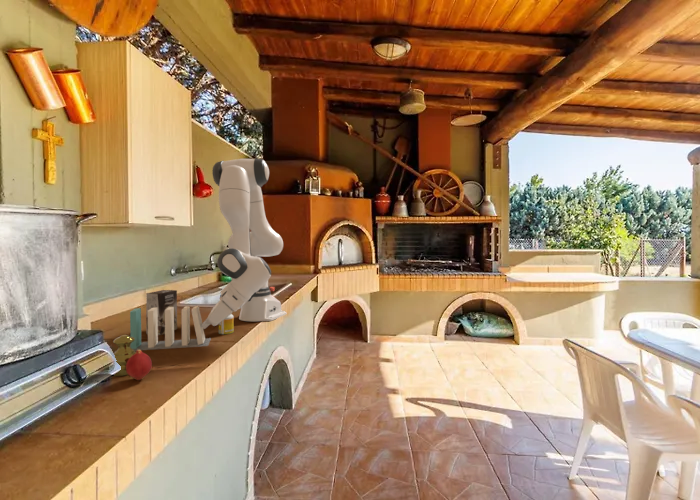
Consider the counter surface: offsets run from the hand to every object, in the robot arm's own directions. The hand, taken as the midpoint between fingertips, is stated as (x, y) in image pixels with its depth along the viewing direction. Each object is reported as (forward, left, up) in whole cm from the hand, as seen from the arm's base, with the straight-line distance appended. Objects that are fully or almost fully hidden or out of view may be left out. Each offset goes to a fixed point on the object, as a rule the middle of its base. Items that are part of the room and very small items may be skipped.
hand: (203, 326), depth 121 cm
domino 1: (+14, -15, -5) cm, 21 cm away
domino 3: (+7, -7, -5) cm, 12 cm away
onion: (+27, +11, -7) cm, 30 cm away
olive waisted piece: (+26, +2, -7) cm, 27 cm away
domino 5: (0, 0, -5) cm, 5 cm away
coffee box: (-1, -24, -7) cm, 25 cm away
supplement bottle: (-13, -3, -7) cm, 15 cm away
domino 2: (+11, -11, -5) cm, 16 cm away
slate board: (+7, -7, -6) cm, 12 cm away
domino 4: (+4, -4, -5) cm, 8 cm away
